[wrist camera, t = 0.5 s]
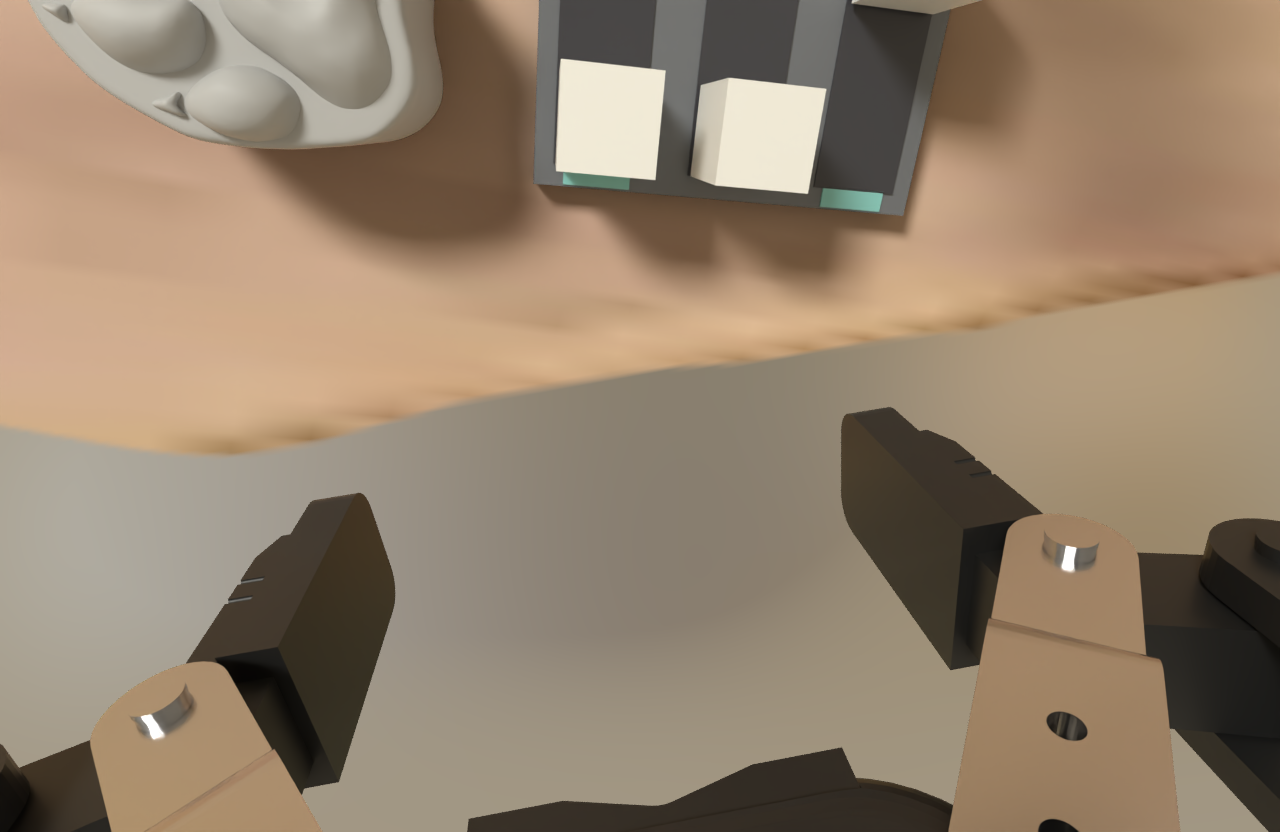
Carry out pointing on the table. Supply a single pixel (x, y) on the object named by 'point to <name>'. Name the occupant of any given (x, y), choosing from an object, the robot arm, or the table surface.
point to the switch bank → (760, 51)
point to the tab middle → (757, 134)
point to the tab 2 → (916, 4)
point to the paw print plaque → (260, 66)
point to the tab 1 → (608, 119)
